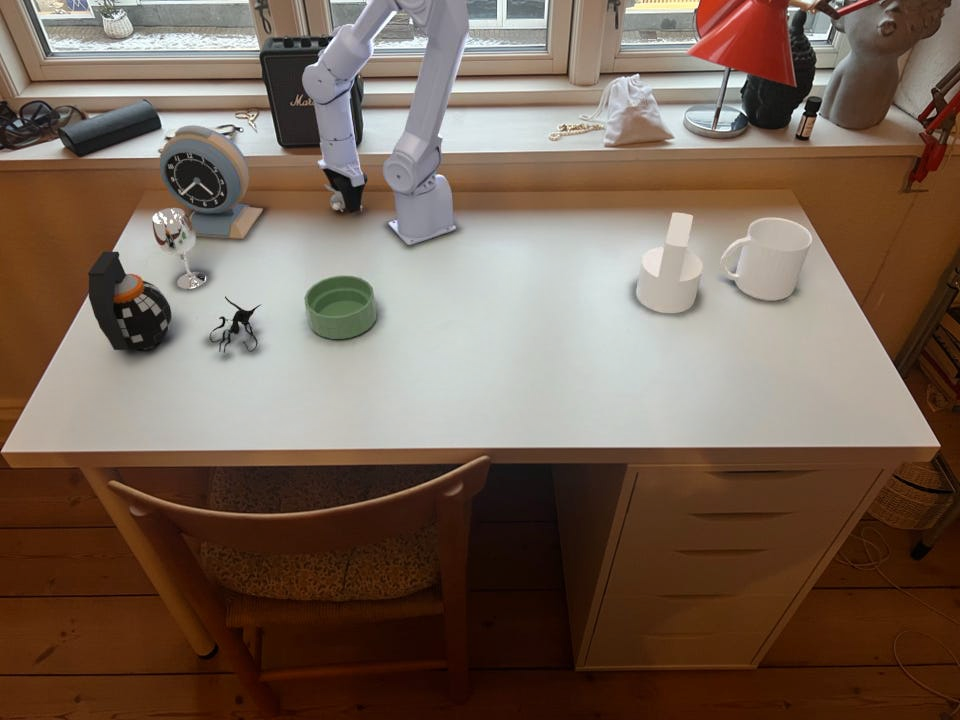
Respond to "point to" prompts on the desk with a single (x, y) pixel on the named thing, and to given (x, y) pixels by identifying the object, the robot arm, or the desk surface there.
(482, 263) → the desk surface
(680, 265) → the cylinder with rectangular tab
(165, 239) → the wineglass
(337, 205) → the dog figurine
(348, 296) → the bowl
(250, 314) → the creature
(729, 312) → the desk surface
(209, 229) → the alarm clock
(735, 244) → the mug
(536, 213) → the desk surface
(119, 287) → the grenade
